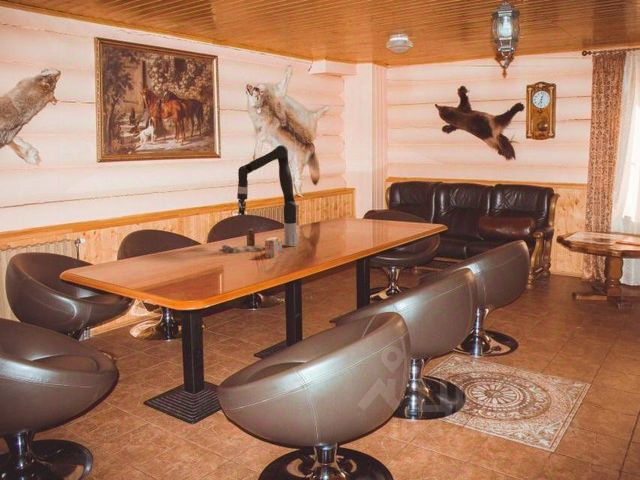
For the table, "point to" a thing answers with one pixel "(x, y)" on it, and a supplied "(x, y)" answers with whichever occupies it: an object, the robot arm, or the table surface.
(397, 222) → the table surface
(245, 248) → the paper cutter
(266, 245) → the stack of blocks
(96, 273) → the table surface
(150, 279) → the table surface
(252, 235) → the brown pillar with knob
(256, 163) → the robot arm
